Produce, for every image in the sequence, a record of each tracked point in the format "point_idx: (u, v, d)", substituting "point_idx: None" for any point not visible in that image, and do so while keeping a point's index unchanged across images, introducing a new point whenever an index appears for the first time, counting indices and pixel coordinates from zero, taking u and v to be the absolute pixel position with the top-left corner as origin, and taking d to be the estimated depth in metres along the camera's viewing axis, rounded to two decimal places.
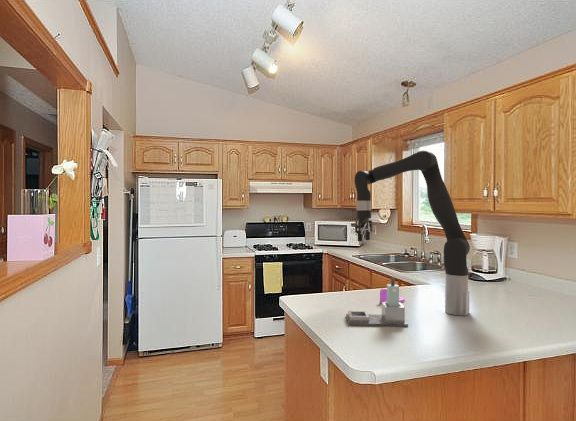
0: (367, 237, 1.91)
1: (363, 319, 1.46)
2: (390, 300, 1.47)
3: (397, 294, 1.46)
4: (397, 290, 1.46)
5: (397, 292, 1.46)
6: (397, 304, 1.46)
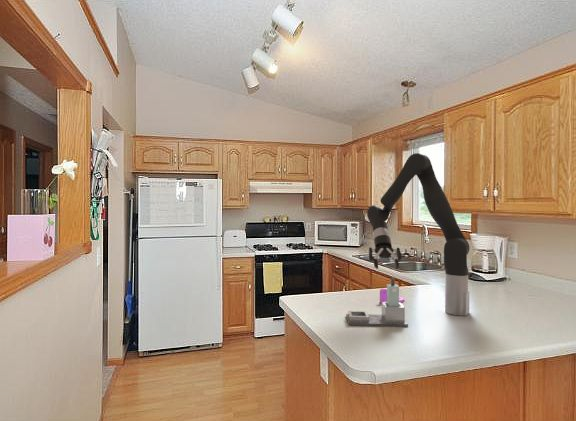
0: (395, 265, 1.61)
1: (363, 319, 1.46)
2: (390, 300, 1.47)
3: (397, 294, 1.46)
4: (397, 290, 1.46)
5: (397, 292, 1.46)
6: (397, 304, 1.46)
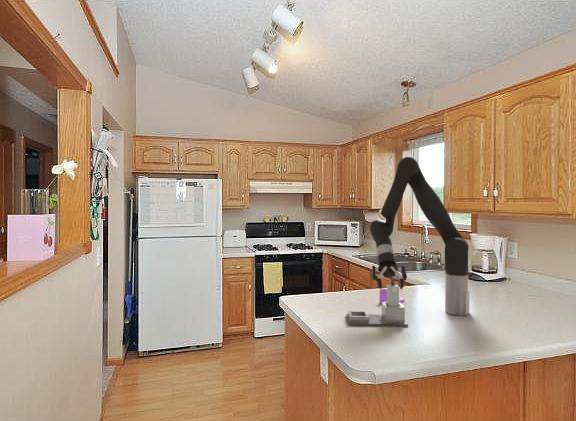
0: (400, 285, 1.52)
1: (363, 319, 1.46)
2: (390, 300, 1.47)
3: (397, 294, 1.46)
4: (397, 290, 1.46)
5: (397, 292, 1.46)
6: (397, 304, 1.46)
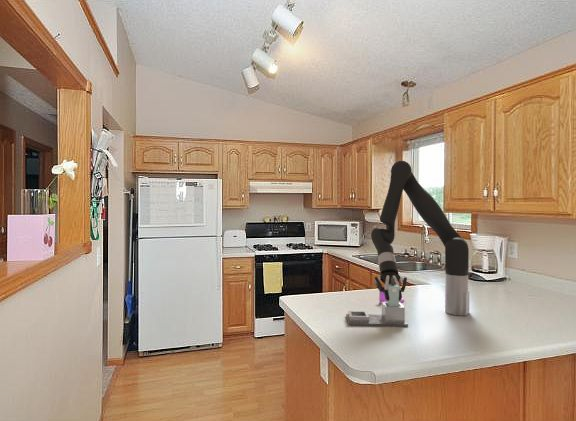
0: None
1: (363, 319, 1.46)
2: (390, 300, 1.46)
3: (397, 294, 1.46)
4: (397, 290, 1.46)
5: (397, 292, 1.46)
6: (397, 304, 1.46)
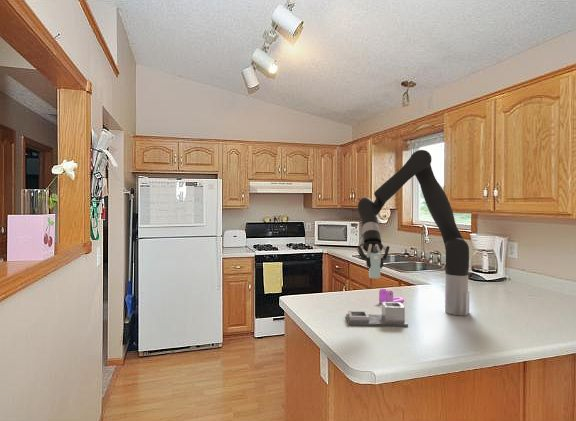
0: None
1: (363, 319, 1.46)
2: (371, 267, 1.47)
3: (379, 261, 1.47)
4: (379, 257, 1.47)
5: (378, 259, 1.47)
6: (378, 271, 1.47)
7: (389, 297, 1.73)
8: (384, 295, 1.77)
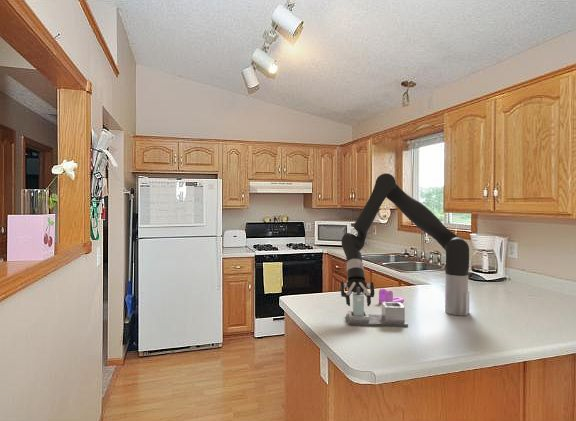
0: (367, 302, 1.49)
1: (363, 319, 1.46)
2: (355, 309, 1.48)
3: (362, 303, 1.47)
4: (362, 299, 1.47)
5: (361, 301, 1.47)
6: (362, 313, 1.47)
7: (389, 297, 1.73)
8: (384, 295, 1.77)
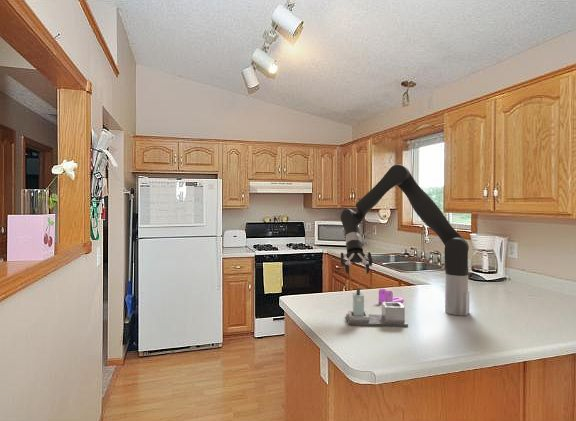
0: (366, 270, 1.62)
1: (363, 319, 1.46)
2: (355, 309, 1.48)
3: (362, 303, 1.47)
4: (362, 299, 1.47)
5: (361, 301, 1.47)
6: (362, 313, 1.47)
7: (388, 297, 1.73)
8: (383, 295, 1.77)
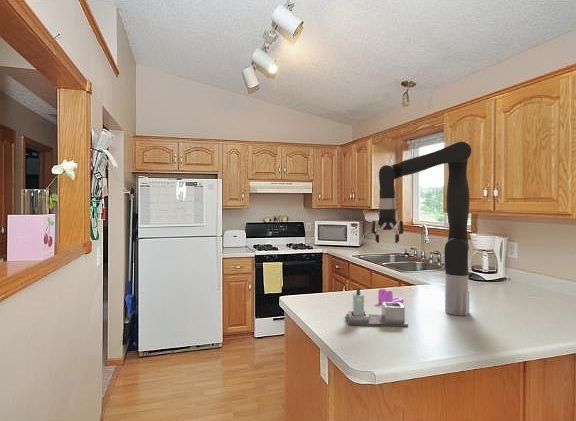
0: (395, 239, 1.69)
1: (363, 319, 1.46)
2: (355, 309, 1.48)
3: (362, 303, 1.47)
4: (362, 299, 1.47)
5: (361, 301, 1.47)
6: (362, 313, 1.47)
7: (388, 297, 1.73)
8: (383, 295, 1.77)
